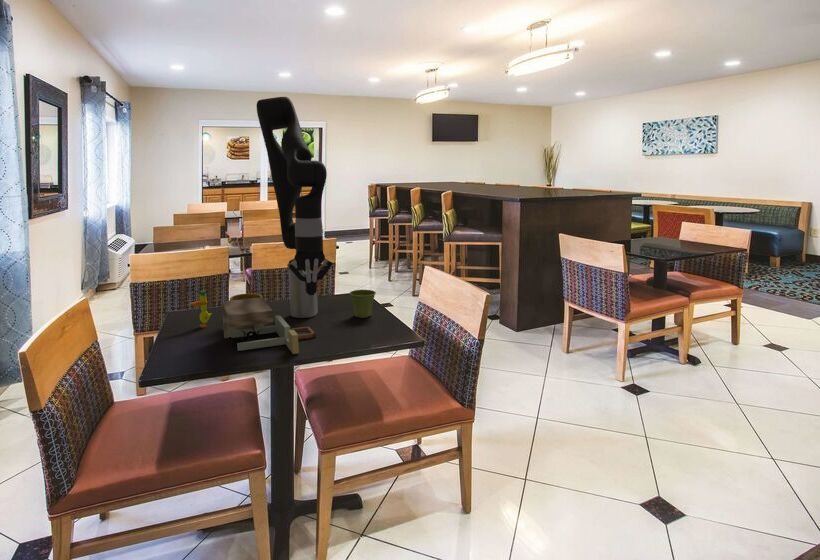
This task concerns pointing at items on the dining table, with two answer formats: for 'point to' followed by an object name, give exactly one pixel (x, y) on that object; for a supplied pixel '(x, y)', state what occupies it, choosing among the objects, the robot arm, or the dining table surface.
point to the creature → (248, 336)
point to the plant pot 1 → (245, 296)
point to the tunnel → (245, 314)
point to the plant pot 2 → (362, 302)
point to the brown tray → (304, 333)
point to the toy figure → (202, 308)
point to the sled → (282, 330)
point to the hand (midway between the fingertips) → (311, 294)
